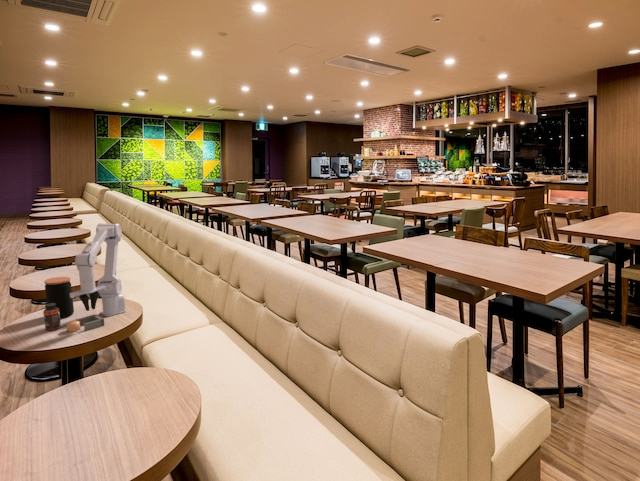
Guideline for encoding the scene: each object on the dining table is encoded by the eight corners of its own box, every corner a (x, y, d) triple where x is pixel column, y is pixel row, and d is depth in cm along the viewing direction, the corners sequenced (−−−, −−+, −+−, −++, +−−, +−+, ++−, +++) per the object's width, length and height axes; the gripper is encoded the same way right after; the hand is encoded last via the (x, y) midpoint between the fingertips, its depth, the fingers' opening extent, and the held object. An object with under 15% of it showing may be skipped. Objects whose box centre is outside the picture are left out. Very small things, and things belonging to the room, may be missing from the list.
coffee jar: (79, 312, 207) (75, 277, 203) (62, 320, 196) (58, 283, 193) (60, 311, 208) (56, 276, 205) (42, 318, 198) (38, 282, 195)
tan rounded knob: (77, 327, 188) (76, 319, 188) (82, 330, 185) (81, 322, 184) (65, 330, 184) (64, 323, 184) (69, 333, 181) (69, 325, 181)
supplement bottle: (64, 326, 189) (61, 302, 187) (54, 331, 183) (52, 306, 181) (52, 325, 190) (49, 301, 188) (42, 330, 184) (39, 306, 182)
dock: (95, 320, 196) (94, 314, 196) (104, 325, 190) (103, 319, 190) (77, 325, 190) (76, 319, 189) (85, 330, 184) (85, 324, 184)
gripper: (73, 285, 176) (76, 316, 178) (108, 278, 187) (111, 307, 189) (66, 282, 180) (69, 312, 183) (101, 275, 191) (104, 303, 194)
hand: (90, 309), depth 186 cm, fingers closed
